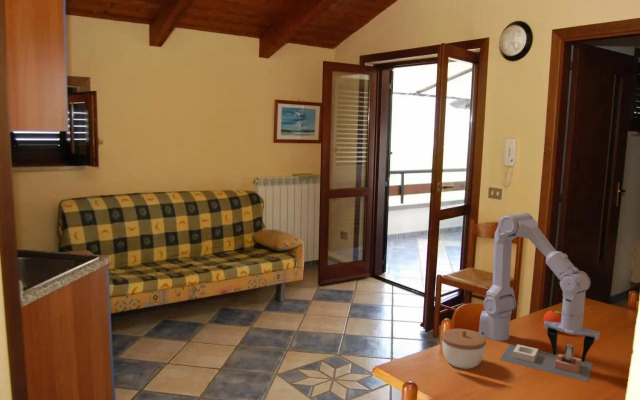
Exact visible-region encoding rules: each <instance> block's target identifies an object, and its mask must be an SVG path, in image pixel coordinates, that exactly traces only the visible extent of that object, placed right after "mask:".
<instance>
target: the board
mask: <svg viewBox="0 0 640 400" xmlns="http://www.w3.org/2000/svg"><path fill="white" fill-rule="evenodd" d="M516 346H517V344H513V343H509V345H508V347H507V348H506V349H505V351H504V353H502V356H501V357H500V359H499V361H502V362H507V363H511V364H515V365H518V366H523V367H526V368H531V369H536V370H538V371H543V372H547V373H551V374H554V375H559V376H563V377H567V378H572V379H573V380H574V379H576V380H580V381H582V382H583V381H584V382H589V380H590V376H591V371H592V368H593V364H594V363H593V362H591V361H586V360H585V361H584V362H583V361H582V359H581V366H580V369H579V373H575V372H570V371H566V370H562V369H558V368H555V361H556V359H557V356H558V354H557V353H556V355H553V352H552V353H551V352H549V351H548V352H547V351H545V350H544V351H543V350H539V349H538V356H537V358H536V360H535V362H534V363H533V362H529V361H525V360H521V359H517V358H513V351H514V349H515V347H516Z"/></svg>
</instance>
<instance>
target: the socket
mask: <svg viewBox="0 0 640 400" xmlns="http://www.w3.org/2000/svg"><path fill="white" fill-rule="evenodd" d="M557 355H558V356H557V359H556V361H555V368H558V369H562V370H566V371H570V372H575V373H579V369H580V366H581V360H582V358H579V357H575V356H573V364H572V363H567V362H564V354H562V353H558V354H557Z"/></svg>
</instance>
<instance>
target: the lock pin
mask: <svg viewBox="0 0 640 400" xmlns="http://www.w3.org/2000/svg"><path fill="white" fill-rule="evenodd" d="M574 350H575V346H574V345H573V344H571V343H566V344H565V346H564V354H563V355H564V362H567V363H572V364H573V357H574V353H575V351H574Z"/></svg>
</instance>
